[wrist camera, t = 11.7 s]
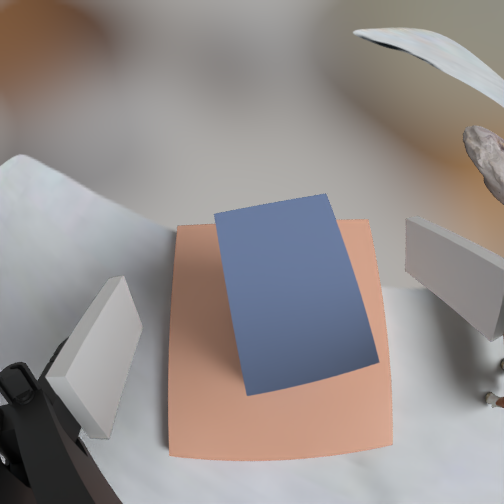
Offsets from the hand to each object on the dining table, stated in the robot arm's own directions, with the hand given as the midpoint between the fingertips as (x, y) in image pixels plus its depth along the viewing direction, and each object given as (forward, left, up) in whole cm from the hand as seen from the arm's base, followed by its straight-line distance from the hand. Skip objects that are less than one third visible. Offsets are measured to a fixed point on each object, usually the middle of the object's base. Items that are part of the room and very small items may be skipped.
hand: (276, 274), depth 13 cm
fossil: (+25, +12, -8) cm, 29 cm away
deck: (0, -2, -6) cm, 7 cm away
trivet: (0, -2, -8) cm, 8 cm away
